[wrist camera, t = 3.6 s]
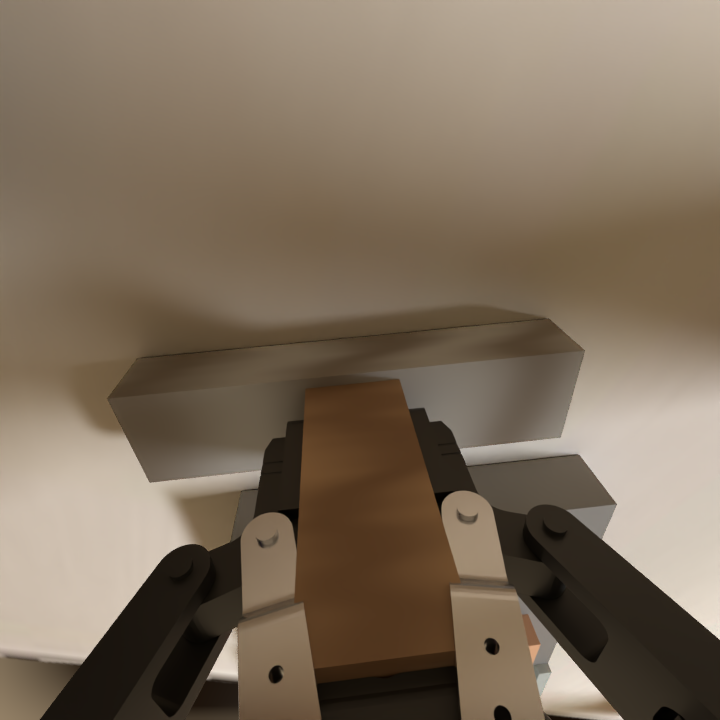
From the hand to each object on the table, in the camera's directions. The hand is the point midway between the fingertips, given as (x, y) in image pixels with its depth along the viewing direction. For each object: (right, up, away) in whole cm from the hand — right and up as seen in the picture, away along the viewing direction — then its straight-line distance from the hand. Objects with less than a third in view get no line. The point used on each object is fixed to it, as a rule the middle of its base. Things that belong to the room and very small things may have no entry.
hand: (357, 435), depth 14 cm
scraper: (0, +2, +3) cm, 3 cm away
